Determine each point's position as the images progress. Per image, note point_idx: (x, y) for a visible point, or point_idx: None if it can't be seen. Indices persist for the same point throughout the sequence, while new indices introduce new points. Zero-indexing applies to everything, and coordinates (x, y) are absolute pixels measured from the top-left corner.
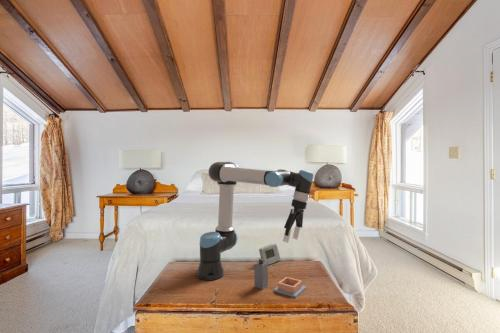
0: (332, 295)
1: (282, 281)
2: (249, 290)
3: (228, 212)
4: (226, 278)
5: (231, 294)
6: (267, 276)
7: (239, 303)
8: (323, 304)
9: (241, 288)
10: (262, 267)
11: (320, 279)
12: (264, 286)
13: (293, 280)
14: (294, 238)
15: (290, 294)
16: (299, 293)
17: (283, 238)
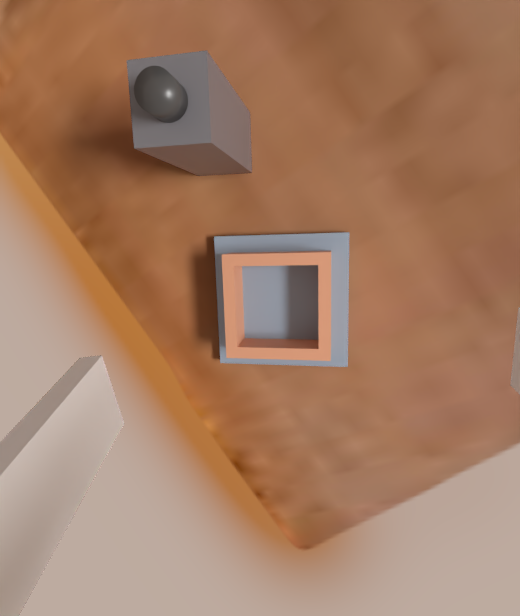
0: (347, 492)
1: (257, 265)
2: None
3: None
4: None
5: (60, 74)
6: (232, 163)
7: (29, 171)
8: (243, 478)
9: None
10: (140, 149)
11: None
12: (211, 173)
13: (318, 308)
14: (517, 345)
15: (219, 334)
16: (262, 362)
17: (58, 382)
